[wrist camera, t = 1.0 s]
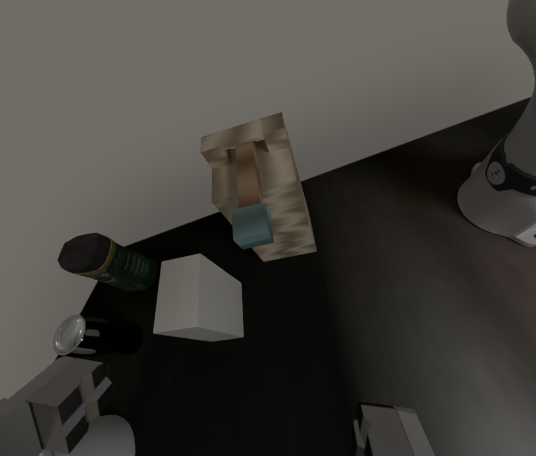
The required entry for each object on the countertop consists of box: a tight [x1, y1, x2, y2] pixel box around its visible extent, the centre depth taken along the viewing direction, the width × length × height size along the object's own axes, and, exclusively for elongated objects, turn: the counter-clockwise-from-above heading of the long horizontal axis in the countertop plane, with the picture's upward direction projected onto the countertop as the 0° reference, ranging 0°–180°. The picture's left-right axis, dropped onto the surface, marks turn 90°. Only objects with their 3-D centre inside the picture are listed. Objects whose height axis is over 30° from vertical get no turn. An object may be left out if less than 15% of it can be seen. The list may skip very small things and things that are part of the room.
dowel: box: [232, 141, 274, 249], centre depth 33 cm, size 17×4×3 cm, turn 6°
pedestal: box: [153, 254, 243, 341], centre depth 46 cm, size 7×11×18 cm, turn 6°
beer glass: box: [53, 315, 144, 357], centre depth 50 cm, size 7×7×15 cm
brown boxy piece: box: [201, 113, 317, 262], centre depth 45 cm, size 12×9×29 cm
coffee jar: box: [58, 233, 157, 291], centre depth 56 cm, size 10×8×19 cm
